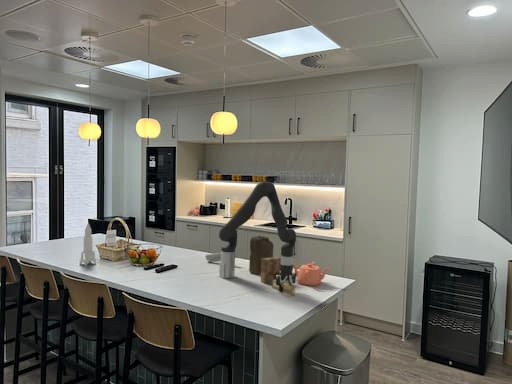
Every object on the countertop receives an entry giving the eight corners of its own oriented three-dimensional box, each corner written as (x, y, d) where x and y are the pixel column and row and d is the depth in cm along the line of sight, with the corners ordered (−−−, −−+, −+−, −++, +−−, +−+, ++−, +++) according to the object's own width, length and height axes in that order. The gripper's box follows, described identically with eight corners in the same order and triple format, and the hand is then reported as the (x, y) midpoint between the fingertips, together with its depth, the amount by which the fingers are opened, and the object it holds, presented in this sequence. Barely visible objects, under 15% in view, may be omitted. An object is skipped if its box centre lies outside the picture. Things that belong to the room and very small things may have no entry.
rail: (289, 296, 213) (290, 287, 213) (272, 287, 227) (272, 279, 227) (294, 295, 215) (294, 286, 215) (276, 287, 229) (277, 279, 229)
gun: (236, 265, 274) (233, 251, 274) (207, 268, 284) (204, 255, 284) (237, 264, 276) (235, 250, 276) (208, 267, 286) (206, 254, 287)
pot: (314, 278, 251) (315, 259, 250) (329, 285, 235) (329, 266, 234) (290, 280, 244) (290, 261, 243) (303, 288, 228) (304, 268, 227)
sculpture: (96, 263, 269) (96, 222, 267) (85, 266, 262) (85, 223, 260) (90, 262, 272) (90, 221, 271) (79, 264, 265) (79, 222, 264)
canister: (257, 275, 253) (258, 238, 251) (247, 273, 258) (248, 237, 256) (273, 270, 267) (274, 235, 266) (264, 268, 273) (265, 234, 271)
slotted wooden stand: (269, 286, 230) (270, 262, 229) (259, 281, 238) (260, 258, 237) (285, 283, 237) (286, 259, 236) (275, 279, 246) (276, 256, 245)
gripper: (280, 266, 211) (279, 295, 212) (300, 263, 219) (299, 291, 220) (272, 263, 217) (271, 291, 218) (292, 260, 225) (290, 288, 226)
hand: (285, 291), depth 219 cm, fingers open, 6 cm apart
